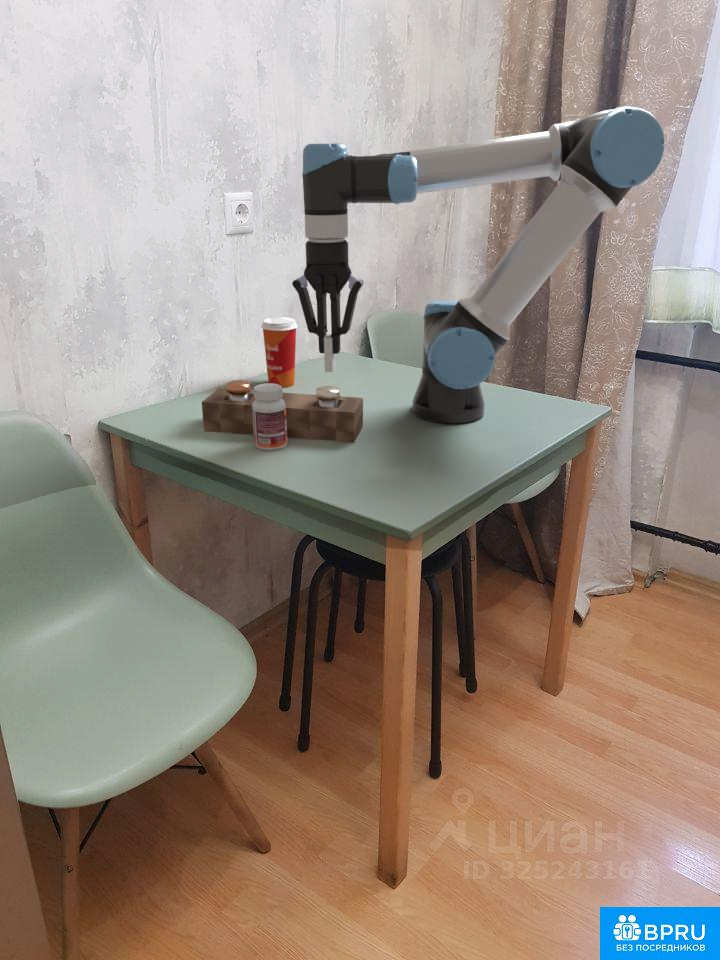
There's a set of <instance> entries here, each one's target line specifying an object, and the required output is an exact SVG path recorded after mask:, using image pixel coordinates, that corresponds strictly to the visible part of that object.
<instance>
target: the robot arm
mask: <svg viewBox="0 0 720 960" xmlns="http://www.w3.org/2000/svg"><path fill="white" fill-rule="evenodd" d="M664 152H665V135H664V131H663V128H662V126H661V124H660V122H659V120H658V119H657V118H656V117H655V116H654V115H653V114H652V113H651V112H650V111H647V110H646V109H643V108H640V107H636V106H632V105H631V106H630V105H624V106H619V107H616V108H614V109H607V110H601V111H599V112H596V113H593V114H590V115H587V116H584V117H581V118H578V119H575V120H570V121H567V122H566V121H565V122H561V123H553V124H552V125H551V126H550V127H549V129H548V130H547V131H539V132H534V133H533V132H532V133H526V134H518V135H513V136H505V137H504V136H503V137H498V138H492V139H484V140H477V141H476V140H475V141H471V142H470V141H469V142H462V143H455V144H448V145H442V146H435V147H428V148H421V149H414V150H410V151H399V152H393V153H392V152H391V153H380V154H376V155H362V156H361V155H360V156H359V155H358V156H357V155H349V154H348V151H347V145H346V144H344V143H341V142H340V143H338V142H337V143H335V142H334V143H309V144H306V145H305V146H304V148H303V150H302V173H301V174H302V189H303V207H304V212H303V213H304V236H305V238H306V239H308V240H307V241H306V243H305V261H306V262H305V264H306V266H305V268H304V271H303V275H301V276H300V277H298V278H296V279H294V280H293V281H292V283H291V284H292V287H293V288H294V290H295V292H296V293H297V294H298V297H299V301H300V306H301V308H302V313H303V317H304V320H305V324H306V326H307V330H308V332H309V333H310V334H315V335H317V337H318V351H319V353H320V354H323V357H324V372H325V373H333V372H335V369H336V368H337V367H336V364H337V363H336V355H338V354H339V353H340V352H341V336H342V335H346V334H348V332H350V330H351V326H352V321H353V316H354V313H355V307H356V303H357V299H358V295H359V291H360V290H361V289H362V288H363V285H364V281H363V279H360V278H359V279H358V278H357V277H355V276H354V275H352V270H351V268H350V266H349V265H350V264H349V242H348V241H347V240H346V238H348V236H349V221H348V220H349V218H348V217H349V215H348V211H349V210H348V204H395V205H398V204H406V203H407V204H408V203H412V202H414V201H416V199H417V195H418V194H424V193H432V192H433V193H434V192H441V191H447V190H454V189H462V188H471V187H477V186H485V185H493V184H498V183H499V184H501V183H507V182H508V183H509V182H514V181H515V182H516V181H522V180H523V181H524V180H530V179H538V178H546V177H549V178H550V179H551V180H553V181H554V182H558V181H559V183H558V184H557V185H556V187H555V188H554V189H553V191H552V192H551V194H549V196H548V197H547V199H546V200H545V201H544V203H543V204H542V205H541V206H540V208H539V209H538V210H537V211H536V213H535V214H534V216H533V217H532V218H531V219H530V221H528V224H527V225H526V226H525V227H524V229H523V230H522V231H521V232H520V234H518V237H517V238H516V239H515V240H514V242H513V243H512V244H511V246H510V247H509V248H508V250H507V251H506V252H505V253H504V255H503V256H502V257H501V259H500V260H499V261H498V263H497V264H496V265H495V266H494V268H493V269H492V270H491V272H490V273H489V274H488V275H487V277H486V278H485V280H484V281H483V282H482V283H481V284H480V286H479V287H478V289H477V290H476V291H475V293H474V294H473V295H472V296H470V297H464V298H460V299H459V300H458V301H454V300H453V301H449V300H448V301H447V300H446V301H432V302H431V301H430V302H428V303H427V304H426V306H425V308H424V315H423V320H424V323H423V341H422V342H423V344H422V345H423V347H422V348H423V349H422V369H421V370H422V371H421V377H420V379H419V383H418V385H417V386H416V387H417V388H416V390H415V393H414V396H413V399H412V403H411V404H412V405H411V406H412V407H411V411H412V414H414V416H416V417H418V418H420V419H423V420H425V421H431V422H435V423H440V424H441V423H442V424H463V423H464V424H465V423H470V422H473V421H477V420H480V419H481V418H482V417H484V415H485V406H486V405H485V399H484V395H483V391H482V388H481V383H483V382H484V381H485V380H486V379H487V378H488V377H489V376H490V374H491V373H492V371H493V369H494V366H495V363H496V357H497V355H498V354H499V352H500V351H502V349H503V348H504V347H505V345H506V344H507V343H508V342H509V340H510V339H511V336H510V326H511V325H512V324H513V322H514V321H515V320H516V318H517V317H518V316H519V315H520V313H521V312H522V311H523V309H524V308H525V307H526V306H527V305H528V303H529V302H531V300H532V298H533V297H535V296H534V295H535V294H536V293H537V292H538V291H539V290H540V288H541V287H542V286H543V284H544V283H545V282H546V281H547V280H548V278H549V277H550V276H551V274H552V273H554V271H555V270H556V269H557V267H558V266H559V264H560V263H561V262H562V261H563V260H564V259H565V257H566V255H568V253H569V252H570V251H571V249H572V248H573V247H574V246H575V245H576V244H577V242H578V241H579V240H580V238H582V236H583V234H585V232H586V231H587V230H588V228H589V227H590V226H591V225H592V224H593V223H594V221H595V220H596V218H597V217H598V216H599V215H600V213H602V212H606V211H610V210H615V209H616V207H618V205H619V204H620V203H621V202H622V200H623V199H624V198H625V197H626V196H627V194H628V193H629V192H630V191H631V190H632V188H635V187H637V186H639V185H640V184H642V183H644V182H645V181H646V180H648V179H649V178H650V177H651V176H652V175H653V174H654V173H655V171H657V168H658V167H659V165H660V163H661V161H662V159H663V155H664ZM347 282H349V283H348V288H349V293H348V296H347V302H346V306H345V310H344V314H343V319H342V325H341V291H342V290H343V288H344V287H345V286H346V284H347ZM308 284H309V285H310V286H311V288H312V290H314V292H315V298H316V299H315V300H316V312H317V313H316V316H317V317H316V316H315V312H314V309H313V308H314V307H313V304H312V301H311V297H310V293H309V290H308V288H307V287H308ZM328 294H329V300H330V324H331V327H330V328H331V330H330V331H331V334H330V333H328V332H329V331H328V318H327V317H328V315H327V295H328ZM316 318H317V319H316Z"/></svg>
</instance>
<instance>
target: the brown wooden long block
mask: <svg viewBox="0 0 720 960" xmlns="http://www.w3.org/2000/svg"><path fill="white" fill-rule="evenodd" d="M282 393H283V397H282V398H281V399H283V400H284V401H285V403H286V419H287V439H288V438H290V439H300V440H301V439H302V440H315V441H329V442H342V443H351V444H352V443H355V442H356V440H357V438H358V437H359V435H360V433H361V430H362V429H363V427H364V397H354V396H341V395H340V398H339V399H338V408H331V407H319V399H317V398H316V394H312V393H311V394H310V393H309V394H308V393H297V392H296V393H295V392H294V393H293V392H282ZM255 400H256V399H255V398H254V390H251V391H250V392H249V393H248V401H247V402H244V401H230V394H229V393H227V388H219V387H218V388H217V389H216V390H214V391H213V392H212V393H210V394H209V395H208V396H207V397H206V398H205V399H203V400H202V401H201V411H202V413H201V414H202V422H203V431H204V432H211V433H222V434H223V433H224V434H236V435H248V436H249V435H251V436H254V429H253V413H252V404H253V402H254V401H255Z"/></svg>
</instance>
